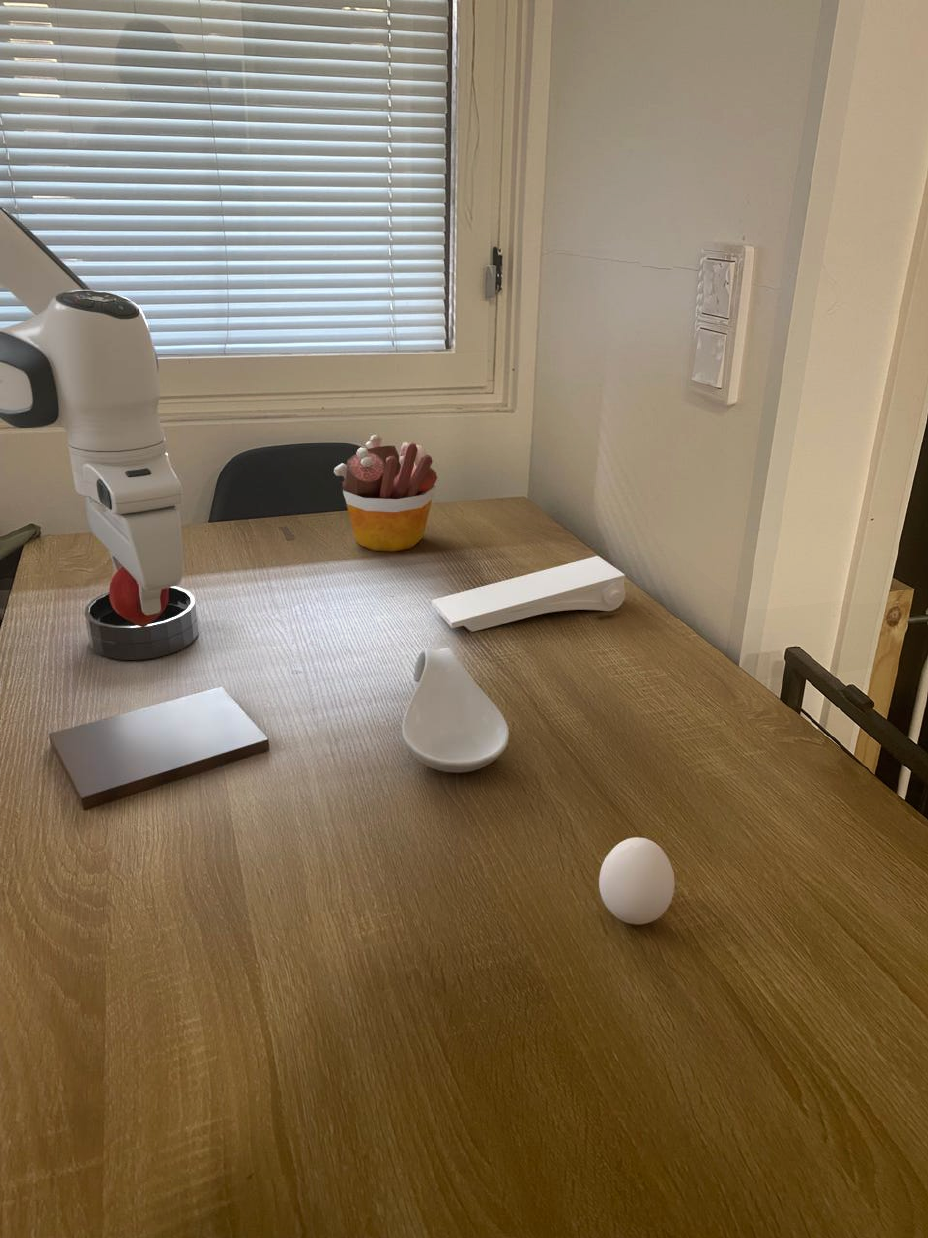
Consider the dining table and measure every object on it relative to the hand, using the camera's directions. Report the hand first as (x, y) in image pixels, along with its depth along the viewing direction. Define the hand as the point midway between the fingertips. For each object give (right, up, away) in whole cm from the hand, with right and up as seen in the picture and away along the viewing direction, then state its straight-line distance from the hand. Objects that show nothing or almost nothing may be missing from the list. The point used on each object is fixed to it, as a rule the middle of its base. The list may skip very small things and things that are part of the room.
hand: (139, 599), depth 94 cm
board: (0, -16, +7) cm, 18 cm away
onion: (0, -3, +1) cm, 3 cm away
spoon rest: (+31, -15, +12) cm, 37 cm away
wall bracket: (+43, -1, +43) cm, 61 cm away
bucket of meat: (+20, +12, +68) cm, 72 cm away
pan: (-10, -5, +32) cm, 34 cm away
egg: (+48, -28, -14) cm, 58 cm away
